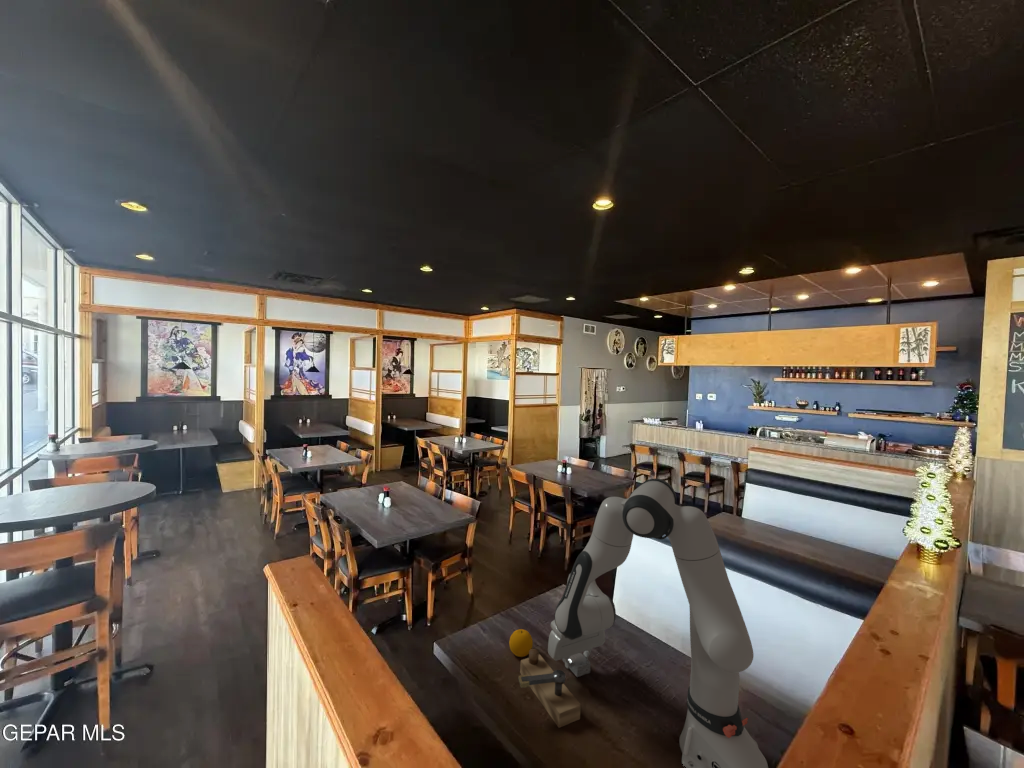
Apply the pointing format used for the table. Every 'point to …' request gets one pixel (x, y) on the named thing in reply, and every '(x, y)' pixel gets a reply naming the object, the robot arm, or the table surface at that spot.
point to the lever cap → (579, 664)
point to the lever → (542, 679)
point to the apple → (520, 643)
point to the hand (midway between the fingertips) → (576, 664)
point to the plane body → (551, 691)
